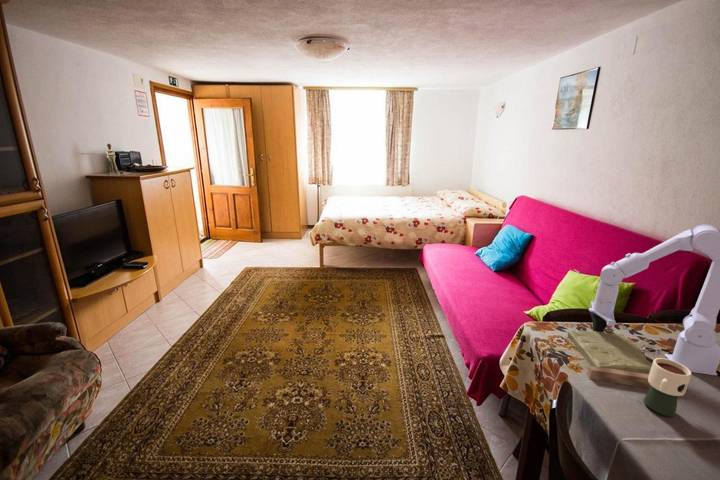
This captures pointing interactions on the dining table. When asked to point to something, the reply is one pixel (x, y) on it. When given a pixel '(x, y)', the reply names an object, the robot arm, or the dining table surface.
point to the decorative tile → (610, 351)
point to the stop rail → (618, 376)
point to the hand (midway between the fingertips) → (597, 333)
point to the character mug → (666, 385)
